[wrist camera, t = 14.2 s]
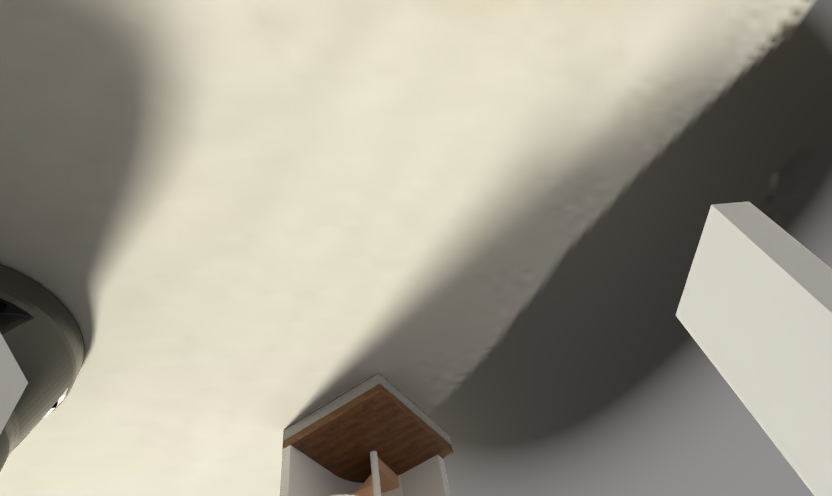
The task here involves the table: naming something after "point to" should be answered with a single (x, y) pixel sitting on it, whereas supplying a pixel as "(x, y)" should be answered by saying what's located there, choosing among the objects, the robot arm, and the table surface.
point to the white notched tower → (366, 447)
